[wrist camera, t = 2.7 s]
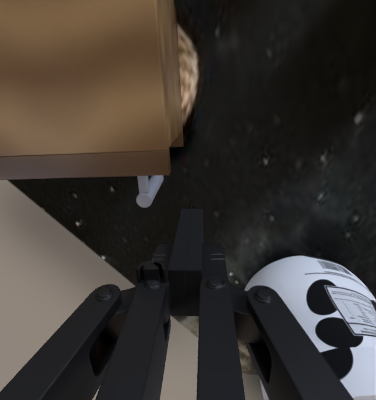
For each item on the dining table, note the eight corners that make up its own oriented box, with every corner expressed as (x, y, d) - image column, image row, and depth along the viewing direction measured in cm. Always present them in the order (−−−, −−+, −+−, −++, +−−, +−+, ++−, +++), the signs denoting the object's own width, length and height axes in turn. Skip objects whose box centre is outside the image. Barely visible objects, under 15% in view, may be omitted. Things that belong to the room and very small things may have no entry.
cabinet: (-8, 23, 25) (-198, -49, 13) (176, 8, 24) (148, -88, 12) (31, 151, 31) (-81, 182, 19) (183, 145, 29) (169, 175, 17)
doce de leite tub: (254, 340, 41) (289, 499, 25) (222, 264, 35) (238, 405, 19) (359, 317, 38) (481, 485, 21) (342, 229, 32) (491, 364, 15)
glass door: (97, 137, 28) (42, 155, 19) (174, 134, 27) (158, 150, 18) (105, 180, 30) (60, 216, 21) (177, 179, 29) (164, 215, 20)
